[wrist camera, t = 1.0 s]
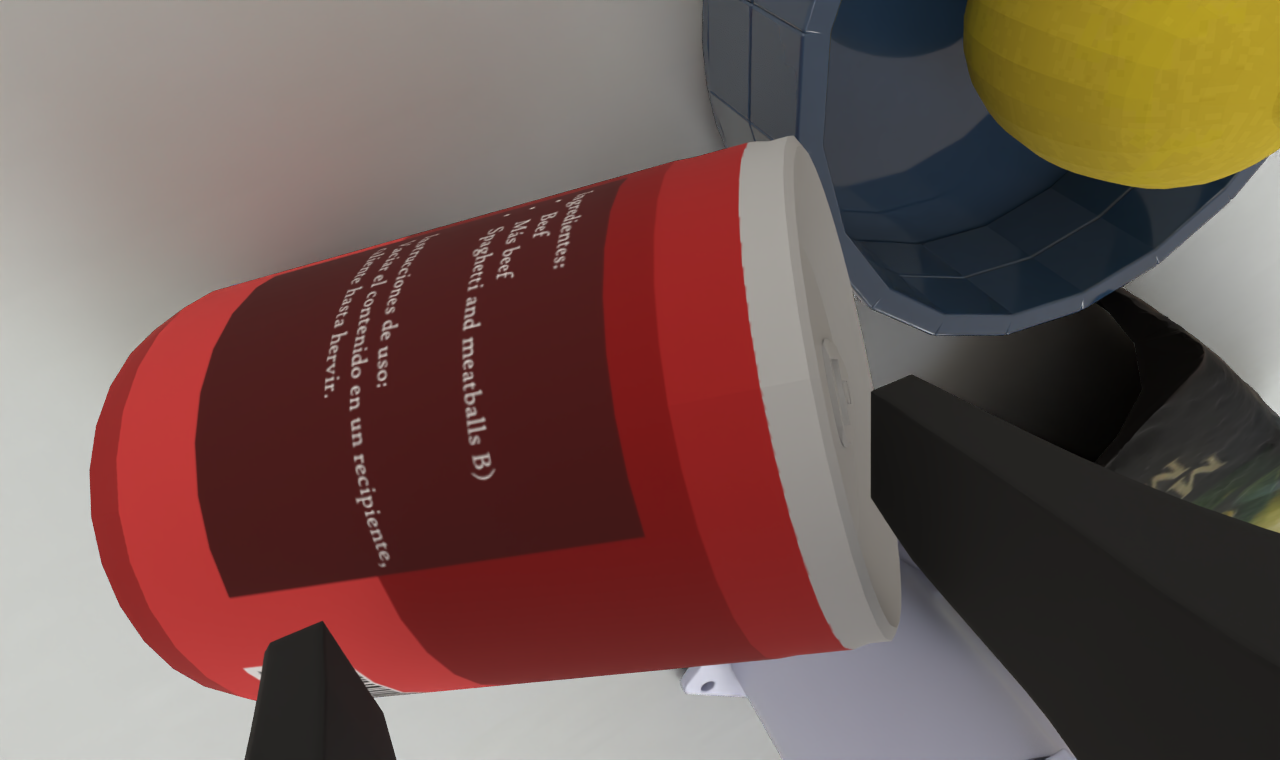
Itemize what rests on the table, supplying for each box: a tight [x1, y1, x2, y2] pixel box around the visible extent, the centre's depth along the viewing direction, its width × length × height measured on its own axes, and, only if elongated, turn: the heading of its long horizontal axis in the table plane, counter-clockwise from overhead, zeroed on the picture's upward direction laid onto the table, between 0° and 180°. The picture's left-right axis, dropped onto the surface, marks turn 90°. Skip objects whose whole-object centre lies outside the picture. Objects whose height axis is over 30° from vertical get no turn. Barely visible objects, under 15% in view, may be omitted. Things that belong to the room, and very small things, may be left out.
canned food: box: [90, 136, 901, 701], centre depth 16 cm, size 8×8×11 cm
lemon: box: [963, 0, 1280, 189], centre depth 18 cm, size 6×6×8 cm
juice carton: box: [1094, 287, 1280, 533], centre depth 32 cm, size 20×10×6 cm, turn 51°
